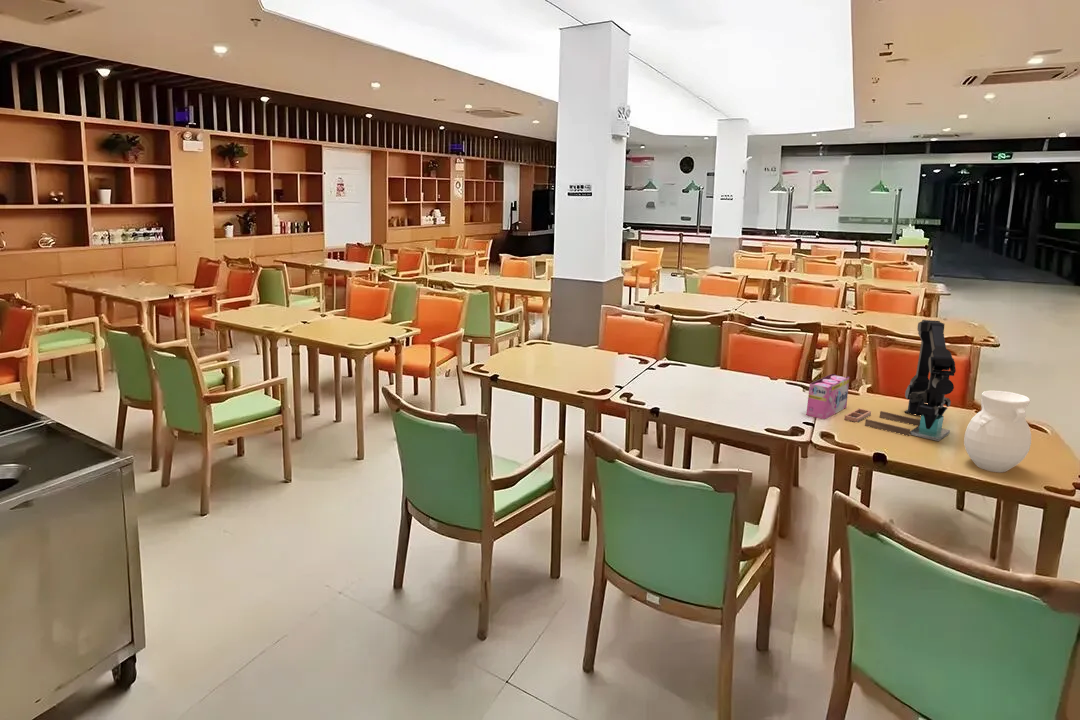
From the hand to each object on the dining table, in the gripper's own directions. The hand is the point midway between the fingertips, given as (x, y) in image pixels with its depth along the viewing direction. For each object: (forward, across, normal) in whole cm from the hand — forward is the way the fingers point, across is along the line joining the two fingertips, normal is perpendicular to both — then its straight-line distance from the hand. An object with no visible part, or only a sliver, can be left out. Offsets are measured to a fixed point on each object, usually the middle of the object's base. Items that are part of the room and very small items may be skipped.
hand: (930, 426), depth 264 cm
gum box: (+3, +2, -39) cm, 39 cm away
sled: (+3, 0, 0) cm, 3 cm away
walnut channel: (+3, 0, -13) cm, 13 cm away
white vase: (+3, +19, +25) cm, 32 cm away
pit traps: (+3, 0, -27) cm, 27 cm away
